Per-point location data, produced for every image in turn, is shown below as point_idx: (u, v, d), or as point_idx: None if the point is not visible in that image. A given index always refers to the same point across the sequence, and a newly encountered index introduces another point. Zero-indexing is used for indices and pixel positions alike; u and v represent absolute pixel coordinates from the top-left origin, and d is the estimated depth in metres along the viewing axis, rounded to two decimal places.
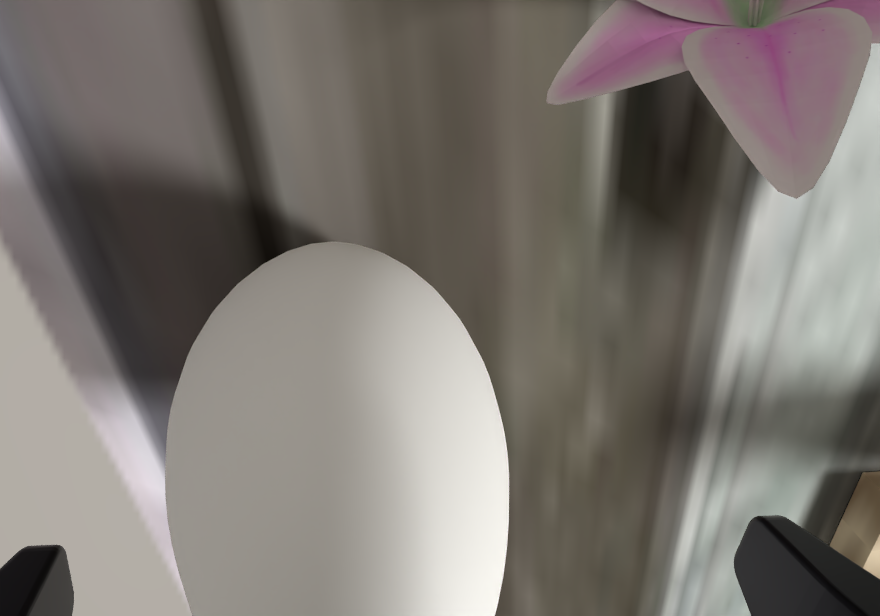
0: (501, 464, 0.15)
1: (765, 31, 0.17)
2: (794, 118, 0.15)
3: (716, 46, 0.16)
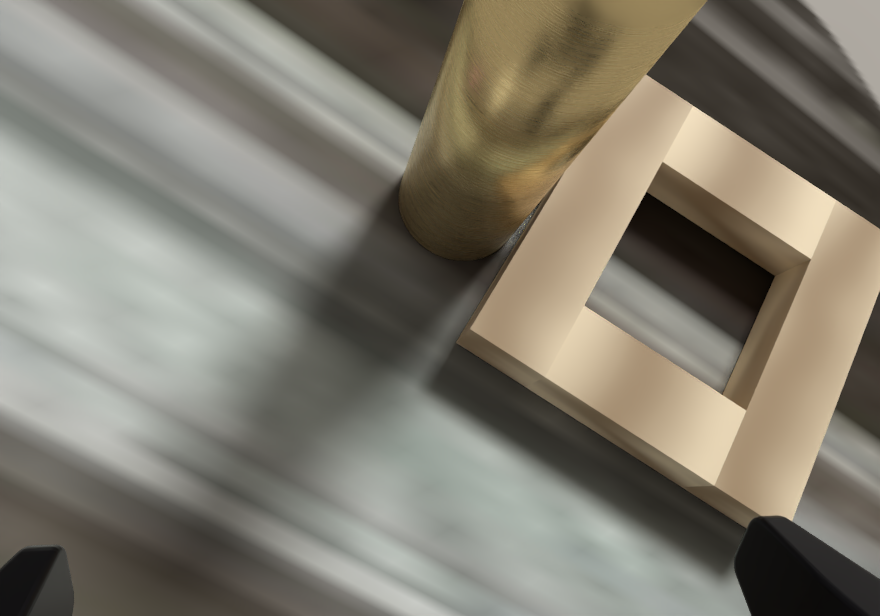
0: None
1: None
2: None
3: None
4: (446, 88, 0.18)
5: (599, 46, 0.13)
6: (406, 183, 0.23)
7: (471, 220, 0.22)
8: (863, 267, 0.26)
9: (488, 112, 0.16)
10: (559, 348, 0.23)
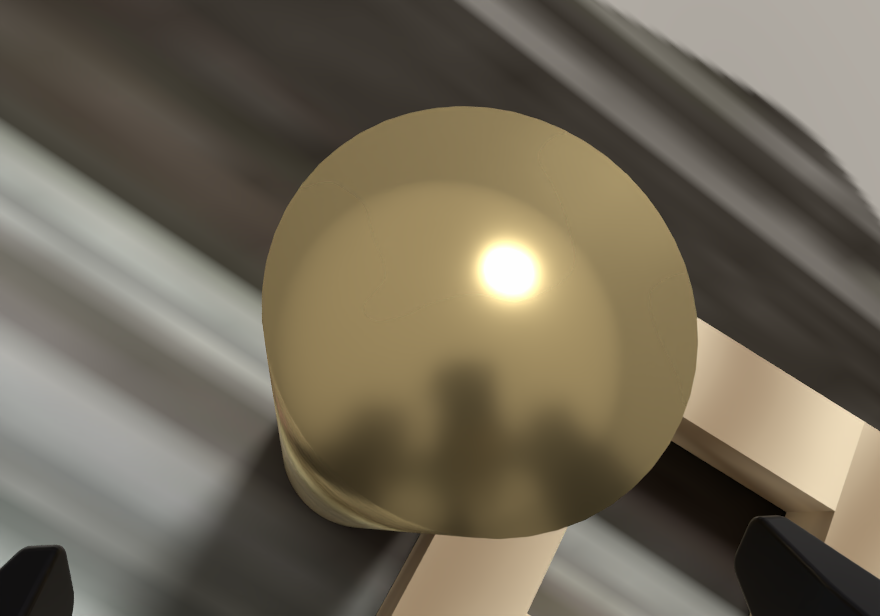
0: None
1: None
2: None
3: None
4: None
5: None
6: None
7: None
8: None
9: (325, 497, 0.10)
10: None
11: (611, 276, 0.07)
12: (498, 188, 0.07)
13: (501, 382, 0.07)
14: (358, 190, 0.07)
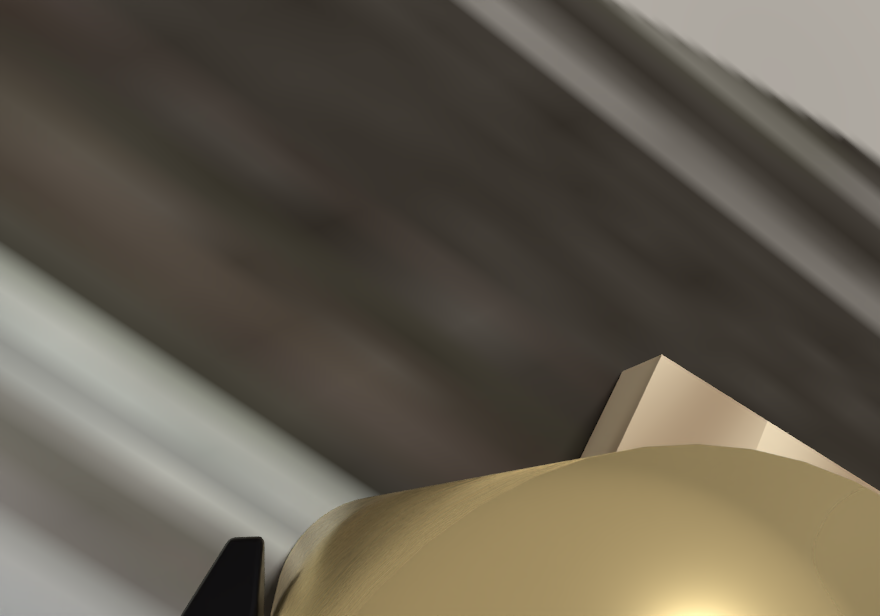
0: None
1: None
2: None
3: None
4: None
5: None
6: None
7: None
8: None
9: None
10: None
11: None
12: None
13: None
14: None
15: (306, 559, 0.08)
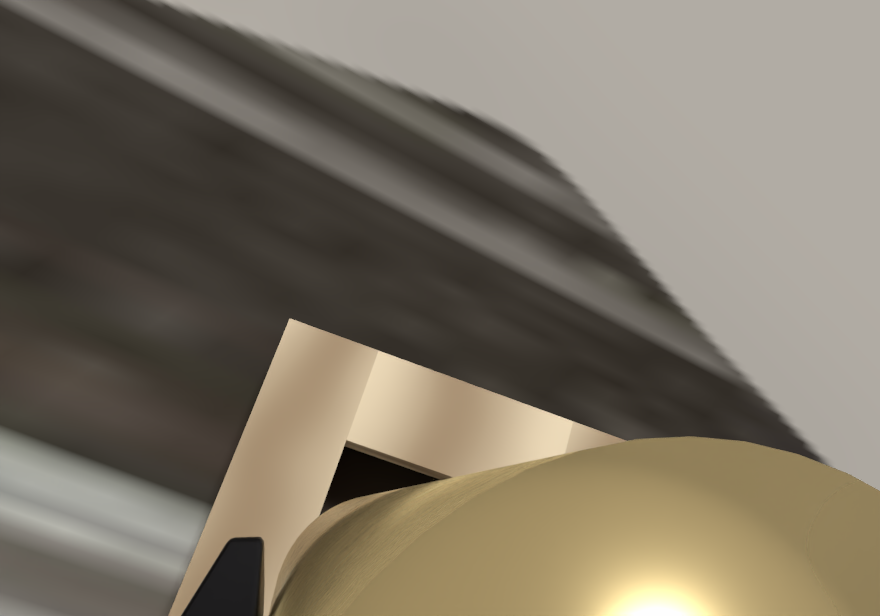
0: None
1: None
2: None
3: None
4: None
5: None
6: None
7: None
8: None
9: None
10: None
11: None
12: None
13: None
14: None
15: (304, 556, 0.08)
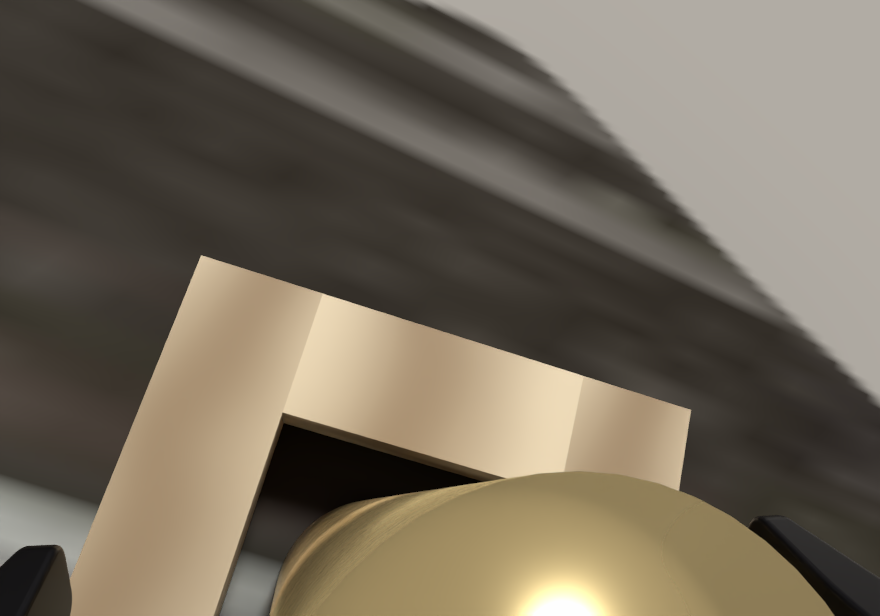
0: None
1: None
2: None
3: None
4: None
5: None
6: None
7: None
8: (644, 475, 0.16)
9: None
10: None
11: None
12: None
13: None
14: None
15: (302, 556, 0.09)
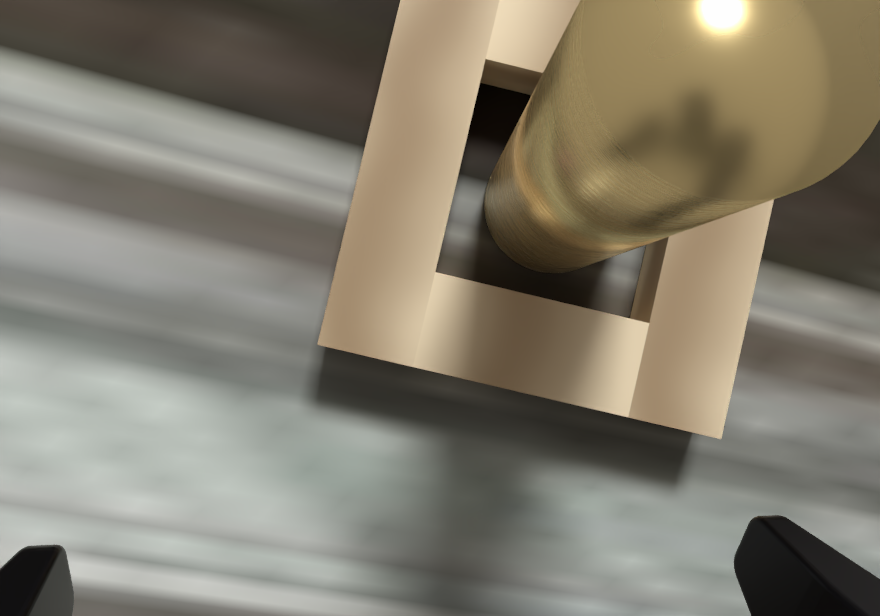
0: None
1: None
2: None
3: None
4: (526, 168, 0.15)
5: (715, 208, 0.10)
6: (491, 205, 0.21)
7: (565, 262, 0.19)
8: None
9: (576, 216, 0.14)
10: (419, 330, 0.20)
11: (831, 12, 0.10)
12: None
13: (748, 96, 0.10)
14: None
15: None
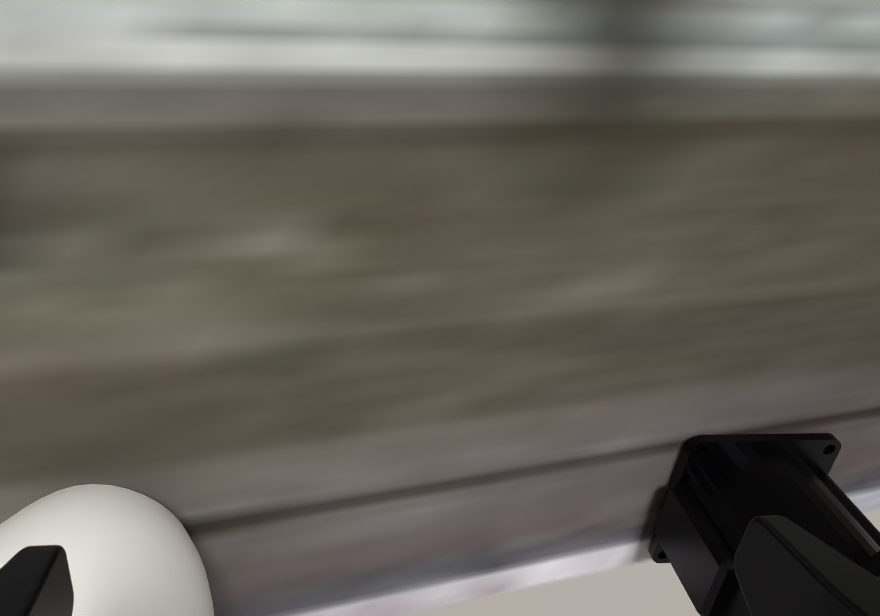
0: None
1: None
2: None
3: None
4: None
5: None
6: None
7: None
8: None
9: None
10: None
11: None
12: None
13: None
14: None
15: None
